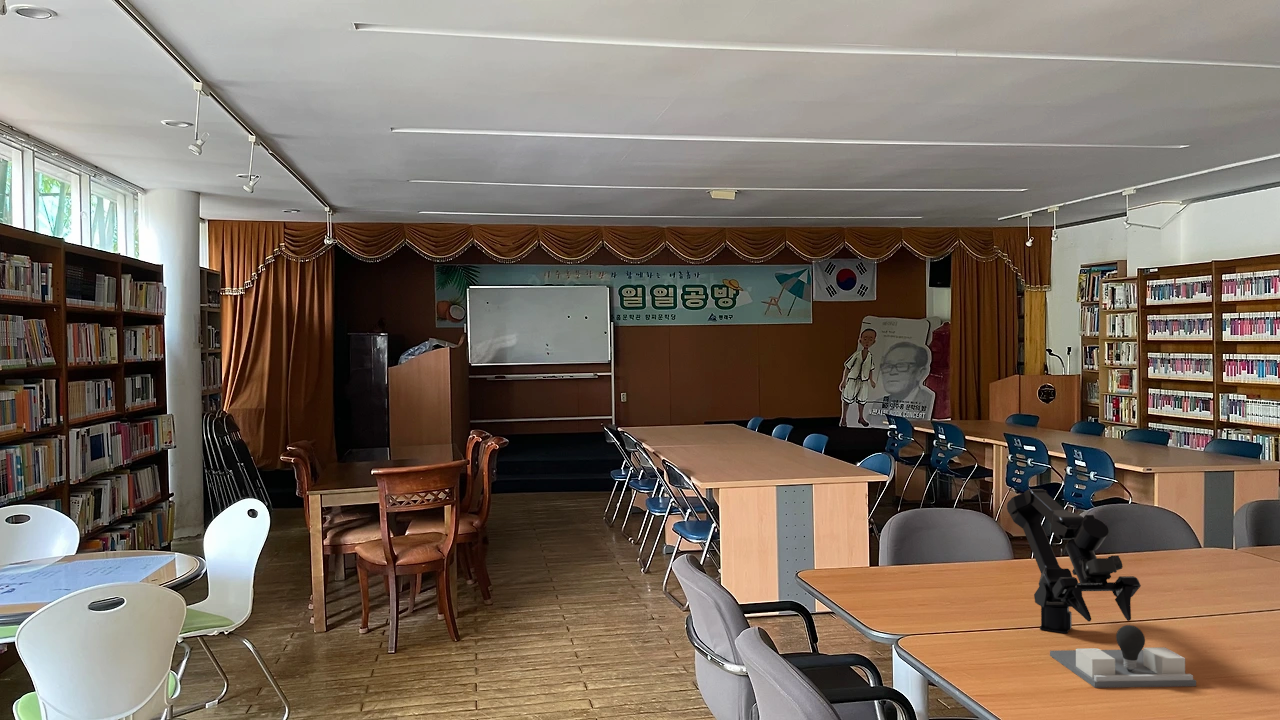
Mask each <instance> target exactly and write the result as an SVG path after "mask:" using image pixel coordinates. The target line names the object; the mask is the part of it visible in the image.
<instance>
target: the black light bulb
mask: <svg viewBox="0 0 1280 720" xmlns="http://www.w3.org/2000/svg"><path fill="white" fill-rule="evenodd" d="M1115 640H1116V642H1117V645H1118V646H1119V647H1118V648H1119V650H1121V651H1122V655H1123V659H1124V663H1123V664H1124V667H1125V668H1126V669H1127V670H1128V671H1132V670H1134V669H1136V661H1137V658H1138V655H1139V653H1140V651H1141V650H1143V648H1145V647H1144V646H1145V645H1146V637H1145V635H1144V633H1143V631H1141V629H1140V628H1138V627H1137V626H1134V625H1130V624H1129V625H1128V624H1127V625H1122V626H1121V627H1120V628H1118V630H1117V631H1116V635H1115Z"/></svg>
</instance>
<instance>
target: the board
mask: <svg viewBox="0 0 1280 720" xmlns="http://www.w3.org/2000/svg"><path fill="white" fill-rule="evenodd" d="M1049 656H1050V657H1051V658H1052V659H1054V660H1055V661H1057V662H1059V664H1061V665H1062V666H1064V667H1065V668H1066V669H1067V670H1069V671H1071V673H1074V674H1075V675H1077V676H1078V677H1079V678H1081V679H1082V680H1083V681H1085V682H1086V683H1088V684H1089V685H1090V684H1091V685H1090V686H1092V687H1093V688H1095V689H1097V688H1099V689H1100V688H1150V687H1151V688H1152V687H1153V688H1154V687H1155V688H1158V687H1159V688H1161V687H1162V688H1163V687H1164V688H1165V687H1166V688H1167V687H1197V680H1196V679H1194V675H1193V674H1191V673H1186V658H1185V657H1184V656H1182V655H1180V654H1178V652H1174V651H1173V650H1170V648H1167V647H1164V646H1163V647H1143V649H1142V650H1141V651H1140V653H1139V655H1138V658H1137V661H1136V669H1134V670H1132V671H1128V670H1127V669H1126V668H1125V667H1124V664H1123V663H1124V659H1123V655H1122V651H1121V649H1099V648H1098V647H1097V648H1094V647H1092V648H1090V647H1089V648H1075V650H1073V649H1071V650H1068V649H1067V650H1065V649H1062V650H1059V649H1058V650H1049Z"/></svg>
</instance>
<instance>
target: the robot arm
mask: <svg viewBox="0 0 1280 720" xmlns="http://www.w3.org/2000/svg"><path fill="white" fill-rule="evenodd" d="M1006 510H1007V513H1008V514H1009V516H1010V517H1011V520H1012V521H1013V523H1014V524H1016V525H1017V526H1019V527H1020V528H1021V529H1022V530H1023V532H1024V534H1025V538H1026V539H1027V540H1026V541H1027V542H1028V545H1029V547H1030V550H1031V553H1032V554H1033V556H1034V559H1035V562H1036V564H1037V568H1038V569H1039V572H1040V577H1039V582H1038V588H1037V589H1036V591H1035V592H1034V594H1033V598H1034V603H1035V604H1037V605H1038V606H1040V622H1041V623H1040V627H1039V630H1042V631H1048V632H1054V633H1059V634H1068V633H1069V631H1070V630H1071V629H1072V625H1073V623H1072V618H1073V617H1072V615H1073V614H1072V613H1073V612H1072V611H1070V608H1072V609H1074V610H1075V611H1076V612H1077V613H1078V614H1079V615H1080V616H1082V617H1083V618H1084V619H1085V620H1086V621H1087V622H1088V623H1089V622H1091V620H1092V617H1091V613H1090V611H1089V608H1088V606H1087V605H1086V601H1085V600H1084V597H1083V592H1112V594H1113V596H1115V599H1114V601H1115V603H1116V605H1117V606H1118V607H1119V610H1120V611H1121V613H1122V615H1123V617H1124V618H1125V619H1126V621H1127V622H1130V621H1131V620H1132V610H1131V609H1132V607H1131V606H1132V605H1131V601H1132V600H1131V599H1132V598H1133V597H1134V595H1135V594H1136V593H1137V591H1138V590H1139V589H1140V588H1141V586H1142V585H1141V583H1140V580H1139V579H1138V578H1137V577H1136V576H1132V575H1128V576H1127V575H1126V576H1118V577H1117V579H1116V580H1115V581H1114V582H1113V581H1111V582H1108V581H1107V580H1110V578H1112V575H1111V574H1113V573H1117V571H1119V570H1122V569H1123V562H1122V560H1121V558H1120V556H1119V555H1110V556H1108V557H1106V558H1104V557H1102V558H1101V557H1099V558H1097V555H1096V554H1095V551H1097V550H1098V549H1099V548H1100V546H1101V545H1102V544H1103V543H1104V540H1105V539H1106V537H1107V536H1108V534H1109V528H1108V525H1106V523H1104V522H1103V520H1099V519H1097V518H1095V516H1094V514H1084V516H1081V515H1080V514H1078V513H1076V512H1072V511H1069V510H1066V509H1065V508H1064V507H1063V506H1061V505H1060V503H1059V502H1057V501H1056V500H1055V499H1054V498H1052V496H1050V495H1049V492H1048V491H1047V490H1045V489H1043V488H1039V489H1038V488H1037V489H1033V488H1032V489H1031V488H1029V489H1028V490H1025V491H1024V492H1023V493H1020V494H1018V495H1015V496H1013V497H1011V498H1010V500H1008V502H1007V503H1006ZM1042 516H1043V517H1044V518H1045V519H1046V520H1047V521H1048V522H1049V523H1050V525H1051V526H1050V531H1051V532H1052V533H1053V534H1054V536H1055V537H1056V538H1057V540H1068V541H1067V543H1066V544H1065V546H1064V549H1063V555H1064V556H1067V555H1068V557H1069V560H1070V562H1071V564H1072V566H1073V569H1072V571H1071V570H1070V569H1069V568H1062V567H1061V566H1060V564H1059V562H1058V559H1057V557H1056V555H1055V553H1054V551H1053V547H1052V546H1051V543H1050V541H1049V538H1048V537H1047V536H1048V535H1047V534H1046V532H1045V529H1044V527H1043V524H1042ZM1072 574H1073V575H1072ZM1074 576H1077V578H1076V577H1074Z"/></svg>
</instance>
